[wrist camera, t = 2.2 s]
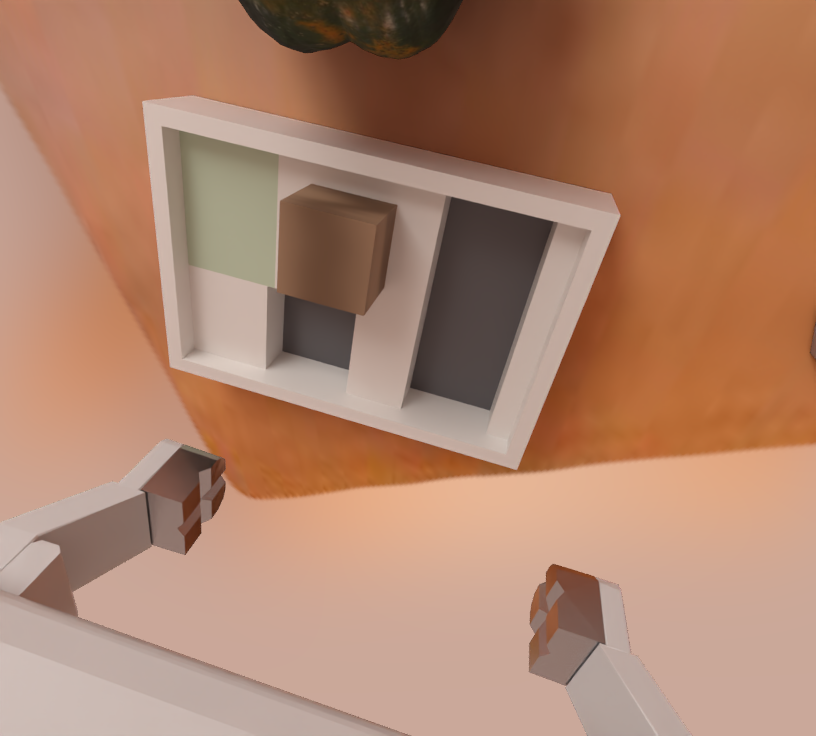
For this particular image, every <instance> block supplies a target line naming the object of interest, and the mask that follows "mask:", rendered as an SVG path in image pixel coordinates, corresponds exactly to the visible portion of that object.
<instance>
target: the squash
mask: <svg viewBox="0 0 816 736" xmlns="http://www.w3.org/2000/svg"><path fill="white" fill-rule="evenodd" d="M239 1H240V3H241V4H242V6H243V7H244V9H245V10H246V12H247V13H248V15H249V16H250V18H251V19H252V20H253V21H254V22H255V23H256V24H257V26H258V27H259V28H260V29H262V30H263V31H264V32H265V33H267V34H268V35H269V36H271V37H272V38H273V39H274V40H276V41H277V42H278V43H279V44H280V45H283V46H285V47H288V48H290V49H293V50H296V51H299V52H303V53H313V52H317V51H321V50H327V49H332V48H335V47H338V46H340V45H343V44H345V43H347V42H353V43H354V44H356V45H357V46H359V47H360V48H362V49H363V50H366V51H368V52H371V53H373V54H375V55H378V56H381V57H387V58H394V59H403V58H408V57H411V56H413V55H416V54H418V53H419V52H421V51H422V50H425V49H427V48H429V47H430V46H431V45H433V44H434V43H435V42H437V41H438V39H439V38H440V37H441V36H442V34H443V33H444V32H445V31H446V29H447V28H448V26H449V25H450V23H451V21H452V20H453V18H454V16H455V14H456V12H457V11H458V9H459V7H460V5H461V3H462V1H463V0H239Z"/></svg>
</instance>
